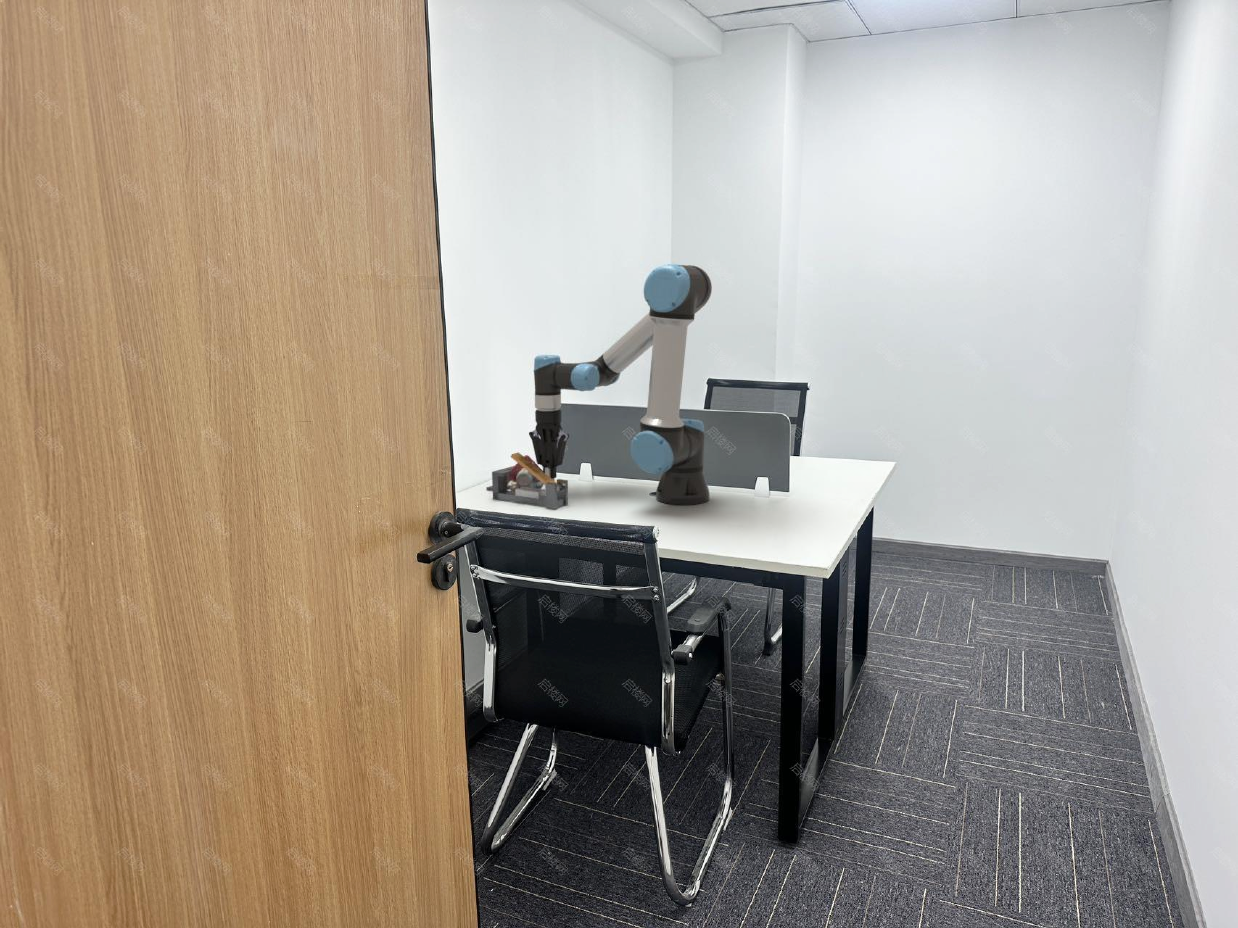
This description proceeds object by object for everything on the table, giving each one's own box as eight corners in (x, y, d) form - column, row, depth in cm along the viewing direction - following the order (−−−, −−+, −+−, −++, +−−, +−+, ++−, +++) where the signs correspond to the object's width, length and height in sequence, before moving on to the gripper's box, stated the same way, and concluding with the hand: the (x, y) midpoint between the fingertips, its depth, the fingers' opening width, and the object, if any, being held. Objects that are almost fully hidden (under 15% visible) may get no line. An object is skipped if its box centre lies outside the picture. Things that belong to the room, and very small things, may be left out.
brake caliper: (550, 479, 255) (544, 452, 246) (545, 507, 247) (539, 481, 238) (513, 478, 256) (506, 452, 247) (507, 507, 249) (500, 481, 240)
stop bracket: (524, 484, 259) (523, 465, 258) (499, 492, 249) (498, 472, 248) (511, 482, 262) (510, 463, 261) (486, 490, 252) (485, 470, 251)
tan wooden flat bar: (561, 491, 232) (563, 487, 232) (554, 493, 229) (556, 489, 229) (517, 455, 238) (518, 451, 237) (510, 457, 235) (512, 453, 235)
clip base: (568, 504, 234) (567, 476, 232) (555, 509, 228) (554, 480, 227) (504, 495, 245) (503, 468, 243) (490, 499, 240) (489, 472, 238)
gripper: (574, 408, 242) (575, 488, 247) (537, 406, 249) (539, 484, 254) (559, 412, 236) (561, 493, 241) (522, 409, 243) (524, 488, 247)
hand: (550, 488), depth 247 cm, fingers closed
